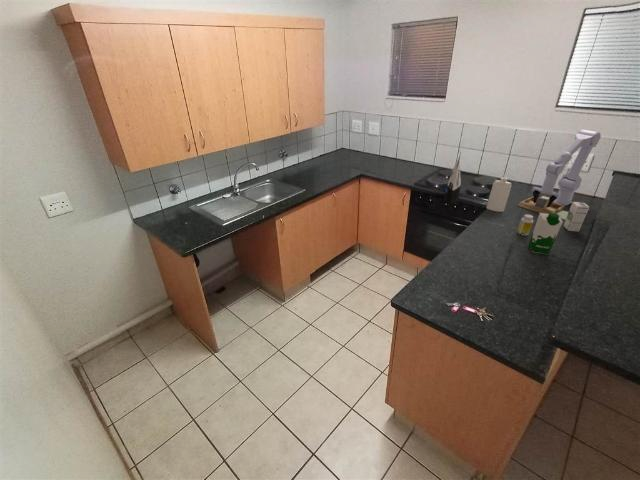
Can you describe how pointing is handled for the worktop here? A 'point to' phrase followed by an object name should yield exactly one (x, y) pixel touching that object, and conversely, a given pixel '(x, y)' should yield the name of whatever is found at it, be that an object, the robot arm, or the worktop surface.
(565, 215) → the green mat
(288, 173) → the worktop surface
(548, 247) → the milk carton
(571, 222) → the syrup box
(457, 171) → the model sailboat
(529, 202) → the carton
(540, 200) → the box
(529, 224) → the supplement bottle
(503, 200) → the squeeze bottle
